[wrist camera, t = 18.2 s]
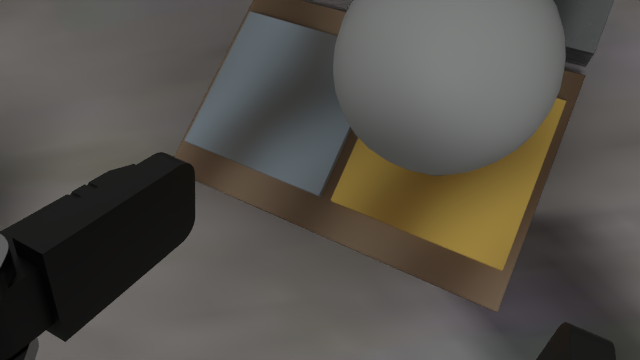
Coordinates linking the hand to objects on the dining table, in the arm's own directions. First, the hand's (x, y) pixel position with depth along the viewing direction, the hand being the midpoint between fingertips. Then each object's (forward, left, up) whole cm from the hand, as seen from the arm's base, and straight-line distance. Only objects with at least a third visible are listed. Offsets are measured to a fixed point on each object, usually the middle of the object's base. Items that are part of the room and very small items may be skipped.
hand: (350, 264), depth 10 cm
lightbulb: (0, +6, -11) cm, 12 cm away
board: (-4, +6, -12) cm, 14 cm away
